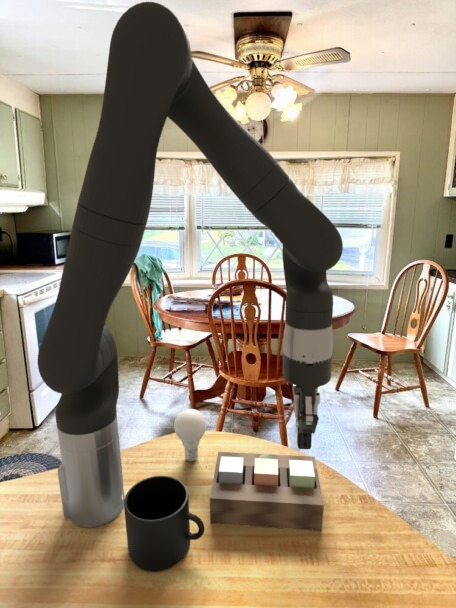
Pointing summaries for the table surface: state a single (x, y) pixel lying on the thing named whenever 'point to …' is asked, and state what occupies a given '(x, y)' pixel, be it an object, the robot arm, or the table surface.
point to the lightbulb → (190, 431)
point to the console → (266, 498)
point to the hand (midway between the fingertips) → (303, 446)
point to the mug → (159, 523)
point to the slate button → (231, 470)
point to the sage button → (301, 474)
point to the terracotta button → (266, 472)
